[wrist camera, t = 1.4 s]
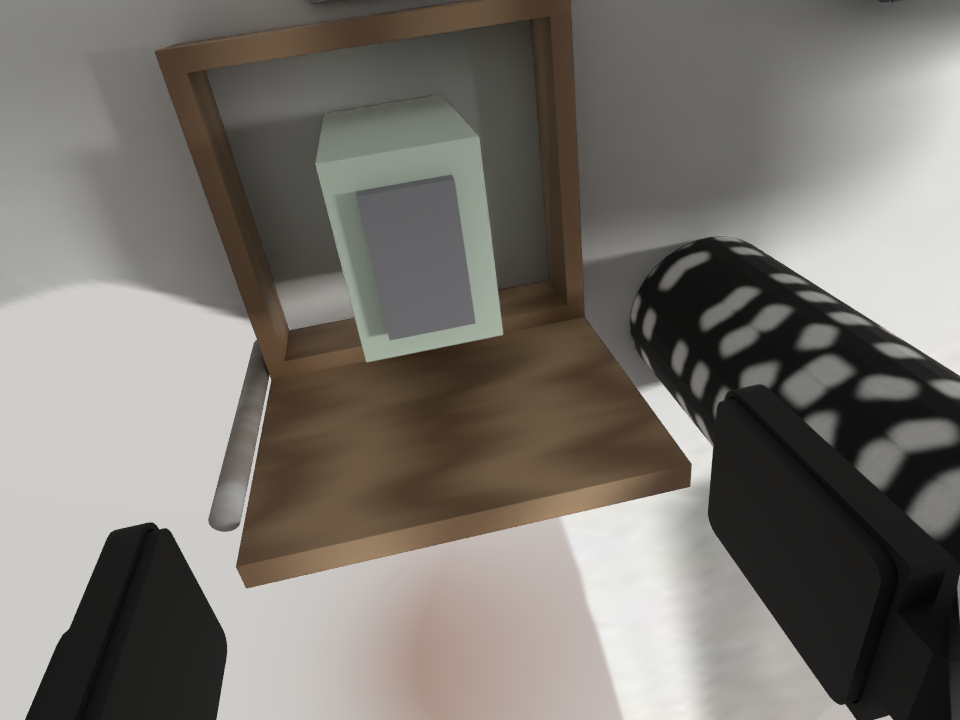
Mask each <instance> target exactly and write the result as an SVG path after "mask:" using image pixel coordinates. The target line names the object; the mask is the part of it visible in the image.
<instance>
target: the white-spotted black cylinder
mask: <svg viewBox="0 0 960 720" xmlns="http://www.w3.org/2000/svg"><path fill="white" fill-rule="evenodd" d="M630 324H631V336H632V339H633V343H634V346H635V348H636V349H637V351H638V353H639V355H640V356H641V357H642V359H643V360H644V361H645V362H646V364H647V365H648V366H649V367H650V368H651V370H652V371H653V372H654V373H655V375H656V376H657V377H658V378H659V380H660V381H661V382H662V383H663V385H664V386H665V387H666V388H667V390H668V391H669V392H670V393H671V395H672V396H673V397H674V398H675V400H676V401H677V402H678V403H679V405H680V406H681V407H682V408H683V410H684V411H685V412H686V413H687V415H688V416H689V417H690V418H691V420H692V421H693V422H694V423H695V425H696V426H697V427H698V428H699V430H700V431H701V432H702V433H703V435H704V436H705V437H706V438H707V440H708V441H709V442H710V443H711V445H712V446H714V434H715V422H716V410H717V405H718V403H719V402H721V401H724V399H725V395H726V394H727V392H729V391H731V390H735V389H739V388H744V387H748V386H753V385H757V384H762V385H764V386H766V387H767V388H769V389H770V390H771V391H772V392H773V393H774V394H775V395H776V396H777V397H778V398H779V399H781V400H782V401H783V402H784V403H785V404H786V405H787V406H788V407H789V408H790V409H792V410H793V411H794V412H795V413H796V414H797V415H798V416H799V417H800V418H801V419H802V420H804V421H805V422H806V423H807V424H808V425H809V426H810V427H811V428H812V429H813V430H814V431H816V432H817V433H818V434H819V435H820V436H821V437H822V438H823V439H824V440H825V441H827V442H828V443H829V444H830V445H831V446H832V447H833V448H834V449H835V450H836V451H837V452H839V453H840V454H841V455H842V456H843V457H844V458H845V459H846V460H847V461H849V462H850V463H851V464H852V465H853V466H854V467H855V468H856V469H857V470H858V471H860V472H861V473H862V474H863V475H864V476H865V477H866V478H867V479H868V480H869V481H870V482H872V483H873V484H874V485H875V486H876V487H877V488H878V489H879V490H880V491H881V492H883V493H884V494H885V495H886V496H887V497H888V498H889V499H890V500H891V501H892V502H893V503H895V504H896V505H897V506H898V507H899V508H900V509H901V510H902V511H903V512H904V513H906V514H907V515H908V516H909V517H910V518H911V519H912V520H913V521H914V522H915V523H916V524H918V525H919V526H920V527H921V528H922V529H923V530H924V531H925V532H926V533H927V534H929V535H930V536H931V537H932V538H933V539H934V540H935V541H936V542H937V543H938V544H939V545H941V546H942V547H943V548H944V549H945V550H946V551H947V552H948V553H949V554H950V555H952V556H953V557H954V558H955V559H956V560H957V561H958V562H959V563H960V376H959V375H957V374H956V373H954V372H953V371H951V370H949V369H948V368H946V367H945V366H943V365H942V364H940V363H938V362H937V361H935V360H934V359H932V358H930V357H929V356H927V355H926V354H924V353H923V352H921V351H919V350H918V349H916V348H915V347H913V346H911V345H910V344H908V343H907V342H905V341H904V340H902V339H900V338H899V337H897V336H896V335H894V334H892V333H891V332H889V331H888V330H886V329H885V328H883V327H881V326H880V325H878V324H877V323H875V322H873V321H872V320H870V319H869V318H867V317H866V316H864V315H862V314H861V313H859V312H858V311H856V310H854V309H853V308H851V307H850V306H848V305H847V304H845V303H843V302H842V301H840V300H839V299H837V298H835V297H834V296H832V295H831V294H829V293H828V292H826V291H824V290H823V289H821V288H820V287H818V286H816V285H815V284H813V283H812V282H810V281H809V280H807V279H805V278H804V277H802V276H801V275H799V274H797V273H796V272H794V271H793V270H791V269H790V268H788V267H786V266H785V265H783V264H782V263H780V262H778V261H777V260H775V259H774V258H772V257H771V256H769V255H767V254H766V253H764V252H763V251H761V250H759V249H758V248H756V247H755V246H753V245H751V244H749V243H747V242H745V241H743V240H740V239H736V238H730V237H711V238H707V239H702V240H698V241H695V242H693V243H691V244H688V245H686V246H683V247H681V248H680V249H678V250H677V251H675V252H674V253H672V254H670V255H669V256H668V257H666V258H665V259H664V260H663V261H662V262H661V263H660V264H659V265H657V266H656V267H655V269H654V270H653V271H652V272H651V273H650V275H649V276H648V277H647V278H646V280H645V281H644V283H643V285H642V286H641V288H640V290H639V292H638V294H637V296H636V299H635V302H634V304H633V307H632V313H631V319H630Z"/></svg>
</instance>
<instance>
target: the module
mask: <svg viewBox="0 0 960 720" xmlns="http://www.w3.org/2000/svg"><path fill="white" fill-rule="evenodd" d="M315 165H316V169H317V173H318V177H319V181H320V185H321V189H322V193H323V196H324V200H325V204H326V208H327V212H328V216H329V220H330V224H331V227H332V231H333V235H334V239H335V243H336V247H337V251H338V255H339V258H340V262H341V266H342V270H343V274H344V278H345V282H346V286H347V289H348V293H349V297H350V301H351V305H352V309H353V313H354V317H355V320H356V324H357V328H358V332H359V336H360V340H361V344H362V348H363V351H364V355H365V359H366V362H371V361H376V360H381V359H386V358H391V357H396V356H401V355H406V354H411V353H416V352H421V351H426V350H431V349H436V348H441V347H446V346H451V345H456V344H461V343H466V342H471V341H476V340H481V339H486V338H490V337H495V336H500V335H503V328H502V320H501V312H500V303H499V295H498V287H497V279H496V271H495V262H494V254H493V246H492V238H491V230H490V221H489V213H488V205H487V197H486V189H485V180H484V172H483V164H482V156H481V148H480V139H479V135H478V134H477V133H476V132H475V131H474V130H473V129H472V128H471V127H470V125H469V124H468V123H467V122H466V121H465V120H464V119H463V118H462V117H461V115H460V114H459V113H458V112H457V111H456V110H455V109H454V108H453V107H452V106H451V104H450V103H449V102H448V101H447V100H446V99H445V98H444V97H443V96H442V94H440V95H434V96H428V97H422V98H416V99H410V100H404V101H398V102H392V103H386V104H380V105H374V106H367V107H361V108H355V109H349V110H343V111H337V112H331V113H325V114H324V116H323V122H322V128H321V134H320V139H319V145H318V151H317V157H316V163H315Z"/></svg>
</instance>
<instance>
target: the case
mask: <svg viewBox="0 0 960 720" xmlns="http://www.w3.org/2000/svg"><path fill="white" fill-rule="evenodd" d="M529 19H531V29H532V43H533V56H534V70H535V83H536V97H537V110H538V124H539V137H540V151H541V164H542V178H543V191H544V205H545V218H546V232H547V245H548V259H549V273H550V280H549V281H544V282H539V283H533V284H528V285H523V286H518V287H513V288H508V289H503V290H498V295H499V303H500V312H501V320H502V328H503V335H500V336H495V337H490V338H486V339H481V340H476V341H471V342H466V343H461V344H456V345H451V346H446V347H441V348H436V349H431V350H426V351H421V352H416V353H411V354H406V355H401V356H396V357H391V358H386V359H381V360H376V361H371V362H366V359H365V355H364V351H363V348H362V344H361V340H360V336H359V332H358V328H357V324H356V320H355V318H353V319H348V320H343V321H338V322H333V323H328V324H322V325H317V326H312V327H307V328H302V329H297V330H292V331H289V329H288V326H287V323H286V319H285V316H284V313H283V310H282V307H281V304H280V301H279V298H278V295H277V292H276V288H275V285H274V282H273V279H272V276H271V273H270V270H269V267H268V264H267V261H266V258H265V254H264V251H263V248H262V245H261V242H260V239H259V236H258V233H257V230H256V227H255V223H254V220H253V217H252V214H251V211H250V208H249V205H248V202H247V199H246V196H245V192H244V189H243V186H242V183H241V180H240V177H239V174H238V171H237V168H236V165H235V161H234V158H233V155H232V152H231V149H230V146H229V143H228V140H227V137H226V134H225V131H224V127H223V124H222V121H221V118H220V115H219V112H218V109H217V106H216V103H215V100H214V96H213V93H212V90H211V87H210V84H209V81H208V78H207V75H206V72H205V70H208V69H215V68H221V67H228V66H234V65H240V64H247V63H253V62H260V61H266V60H273V59H279V58H285V57H292V56H298V55H305V54H311V53H317V52H324V51H330V50H337V49H343V48H349V47H356V46H362V45H369V44H375V43H382V42H388V41H394V40H401V39H407V38H414V37H420V36H426V35H433V34H439V33H446V32H452V31H458V30H465V29H471V28H478V27H484V26H491V25H497V24H503V23H510V22H516V21H523V20H529ZM155 54H156V57H157V60H158V62H159V65H160V68H161V71H162V74H163V76H164V79H165V82H166V85H167V88H168V90H169V93H170V96H171V99H172V102H173V105H174V107H175V110H176V113H177V116H178V119H179V121H180V124H181V127H182V130H183V133H184V135H185V138H186V141H187V144H188V147H189V150H190V152H191V155H192V158H193V161H194V164H195V166H196V169H197V172H198V175H199V178H200V180H201V183H202V186H203V189H204V192H205V194H206V197H207V200H208V203H209V206H210V209H211V211H212V214H213V217H214V220H215V223H216V225H217V228H218V231H219V234H220V237H221V239H222V242H223V245H224V248H225V251H226V253H227V256H228V259H229V262H230V265H231V268H232V270H233V273H234V276H235V279H236V282H237V284H238V287H239V290H240V293H241V296H242V298H243V301H244V304H245V307H246V310H247V312H248V315H249V318H250V321H251V324H252V327H253V329H254V332H255V335H256V338H257V340H256V341H255V343H254V345H253V349H252V353H251V357H250V361H249V364H248V368H247V372H246V376H245V380H244V384H243V388H242V391H241V395H240V399H239V403H238V407H237V411H236V415H235V419H234V423H233V426H232V430H231V434H230V438H229V442H228V446H227V449H226V453H225V457H224V461H223V465H222V469H221V473H220V476H219V481H218V484H217V488H216V492H215V496H214V500H213V504H212V507H211V511H210V516H209V519H208V520H209V524H210V526H211V527H212V528H214V529H215V530H218V531H223V532H227V531H232V530H234V529H236V528H237V527H238V526H239V524H240V521H241V517H242V512H243V506H244V501H245V496H246V491H247V486H248V481H249V476H250V471H251V466H252V460H253V456H254V451H255V446H256V441H257V436H258V430H259V425H260V420H261V415H262V410H263V405H264V400H265V395H266V390H267V385H268V380H269V375H270V377H271V385H270V390H269V396H268V401H267V407H266V412H265V417H264V422H263V427H262V433H261V438H260V443H259V448H258V454H257V459H256V465H255V470H254V475H253V481H252V485H251V491H250V496H249V501H248V507H247V512H246V518H245V522H244V528H243V533H242V539H241V544H240V549H239V555H238V559H237V565H236V568H237V570H238V572H239V574H240V576H241V578H242V581H243V582H244V585H245V587H246V588H250V587H255V586H259V585H264V584H268V583H272V582H277V581H281V580H285V579H289V578H294V577H298V576H303V575H307V574H312V573H316V572H320V571H324V570H329V569H333V568H338V567H342V566H346V565H351V564H355V563H360V562H364V561H368V560H372V559H377V558H381V557H385V556H390V555H394V554H399V553H403V552H407V551H412V550H416V549H420V548H425V547H429V546H434V545H438V544H442V543H447V542H451V541H456V540H460V539H464V538H469V537H473V536H477V535H482V534H486V533H490V532H495V531H499V530H503V529H508V528H512V527H517V526H521V525H525V524H529V523H534V522H539V521H543V520H547V519H551V518H556V517H560V516H565V515H569V514H573V513H578V512H582V511H587V510H591V509H595V508H600V507H604V506H608V505H613V504H617V503H621V502H626V501H630V500H635V499H639V498H643V497H648V496H652V495H656V494H661V493H665V492H669V491H674V490H678V489H683V488H687V487H690V481H691V465H692V464H691V463H690V461H689V460H688V459H687V457H686V456H685V454H684V453H683V452H682V450H681V449H680V448H679V446H678V445H677V443H676V442H675V441H674V439H673V438H672V437H671V435H670V434H669V432H668V431H667V430H666V428H665V427H664V426H663V424H662V423H661V421H660V420H659V419H658V417H657V416H656V415H655V413H654V412H653V410H652V409H651V408H650V406H649V405H648V403H647V402H646V401H645V399H644V398H643V397H642V395H641V394H640V392H639V391H638V390H637V388H636V387H635V386H634V384H633V383H632V381H631V380H630V379H629V377H628V376H627V375H626V373H625V372H624V370H623V369H622V368H621V366H620V365H619V364H618V362H617V361H616V359H615V358H614V357H613V355H612V354H611V353H610V351H609V350H608V348H607V347H606V346H605V344H604V343H603V342H602V340H601V339H600V337H599V336H598V335H597V333H596V332H595V331H594V329H593V328H592V326H591V325H590V324H589V322H588V321H587V320H586V318H585V313H584V290H583V268H582V245H581V222H580V200H579V177H578V155H577V132H576V110H575V87H574V65H573V42H572V20H571V0H466V1H460V2H453V3H447V4H440V5H433V6H427V7H420V8H414V9H407V10H400V11H394V12H387V13H381V14H374V15H367V16H361V17H354V18H348V19H341V20H335V21H328V22H321V23H315V24H308V25H302V26H295V27H288V28H282V29H275V30H269V31H262V32H255V33H249V34H242V35H236V36H229V37H223V38H216V39H209V40H203V41H196V42H190V43H183V44H176V45H172V46H169V47H166V48H163V49H160V50H157V51H155Z"/></svg>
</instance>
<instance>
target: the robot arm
mask: <svg viewBox="0 0 960 720" xmlns="http://www.w3.org/2000/svg"><path fill="white" fill-rule="evenodd" d="M708 517H709V521H710V524H711V527H712V529H713V531H714V533H715V534H716V536H717V537H718V538H719V540H720V541H721V543H722V544H723V546H724V547H725V548H726V550H727V551H728V553H729V554H730V556H731V557H732V558H733V560H734V561H735V563H736V564H737V566H738V567H739V568H740V570H741V571H742V573H743V574H744V575H745V577H746V578H747V580H748V581H749V583H750V584H751V585H752V587H753V588H754V590H755V591H756V593H757V594H758V595H759V597H760V598H761V600H762V601H763V603H764V604H765V605H766V607H767V608H768V610H769V611H770V612H771V614H772V615H773V617H774V618H775V620H776V621H777V622H778V624H779V625H780V627H781V628H782V630H783V631H784V632H785V634H786V635H787V637H788V638H789V640H790V641H791V642H792V644H793V645H794V647H795V648H796V649H797V651H798V652H799V654H800V655H801V657H802V658H803V659H804V661H805V662H806V664H807V665H808V667H809V668H810V669H811V671H812V672H813V674H814V675H815V677H816V678H817V679H818V681H819V682H820V684H821V685H822V686H823V688H824V689H825V691H826V692H827V694H828V695H829V696H830V697H831V699H832V700H834V701H835V702H836V703H837V704H840V705H843V704H846V706H847V707H848V708H849V710H850V711H851V712H852V714H853V715H854V717H855V718H856V720H874V719H878V718H881V717H885V716H888V715H890V716H891V717H892V719H893V720H960V563H959V562H958V561H957V560H956V559H955V558H954V557H953V556H952V555H950V554H949V553H948V552H947V551H946V550H945V549H944V548H943V547H942V546H941V545H939V544H938V543H937V542H936V541H935V540H934V539H933V538H932V537H931V536H930V535H929V534H927V533H926V532H925V531H924V530H923V529H922V528H921V527H920V526H919V525H918V524H916V523H915V522H914V521H913V520H912V519H911V518H910V517H909V516H908V515H907V514H906V513H904V512H903V511H902V510H901V509H900V508H899V507H898V506H897V505H896V504H895V503H893V502H892V501H891V500H890V499H889V498H888V497H887V496H886V495H885V494H884V493H883V492H881V491H880V490H879V489H878V488H877V487H876V486H875V485H874V484H873V483H872V482H870V481H869V480H868V479H867V478H866V477H865V476H864V475H863V474H862V473H861V472H860V471H858V470H857V469H856V468H855V467H854V466H853V465H852V464H851V463H850V462H849V461H847V460H846V459H845V458H844V457H843V456H842V455H841V454H840V453H839V452H837V451H836V450H835V449H834V448H833V447H832V446H831V445H830V444H829V443H828V442H827V441H825V440H824V439H823V438H822V437H821V436H820V435H819V434H818V433H817V432H816V431H814V430H813V429H812V428H811V427H810V426H809V425H808V424H807V423H806V422H805V421H804V420H802V419H801V418H800V417H799V416H798V415H797V414H796V413H795V412H794V411H793V410H792V409H790V408H789V407H788V406H787V405H786V404H785V403H784V402H783V401H782V400H781V399H779V398H778V397H777V396H776V395H775V394H774V393H773V392H772V391H771V390H770V389H769V388H767V387H766V386H764V385H762V384H757V385H753V386H748V387H744V388H739V389H735V390H731V391H729V392H727V394H726V395H725V399H724V401H721V402H719V403H718V405H717V410H716V422H715V434H714V446H713V458H712V470H711V482H710V494H709V506H708ZM226 656H227V642H226V637H225V634H224V631H223V629H222V627H221V625H220V623H219V622H218V620H217V618H216V616H215V614H214V612H213V610H212V608H211V606H210V605H209V603H208V601H207V599H206V597H205V595H204V594H203V591H202V590H201V588H200V586H199V584H198V582H197V580H196V578H195V576H194V575H193V573H192V571H191V569H190V567H189V565H188V563H187V561H186V560H185V558H184V556H183V554H182V552H181V550H180V548H179V546H178V545H177V543H176V541H175V539H174V537H173V535H172V533H171V532H170V531H169V530H168V529H167V528H165V529H159V528H158V527H157V525H155V524H154V523H145V524H141V525H136V526H131V527H127V528H122V529H118V530H114V531H113V532H111V533H110V534H109V536H108V538H107V540H106V542H105V545H104V547H103V549H102V552H101V554H100V557H99V559H98V561H97V564H96V566H95V569H94V571H93V573H92V576H91V578H90V580H89V583H88V585H87V588H86V590H85V592H84V595H83V597H82V600H81V602H80V604H79V607H78V609H77V612H76V614H75V616H74V619H73V621H72V624H71V626H70V629H69V630H68V631H67V632H65V633H64V634H63V635H62V637H61V639H60V641H59V642H58V644H57V646H56V648H55V651H54V653H53V655H52V658H51V660H50V662H49V665H48V667H47V670H46V672H45V674H44V676H43V679H42V681H41V684H40V686H39V688H38V691H37V693H36V695H35V698H34V700H33V702H32V705H31V707H30V709H29V712H28V714H27V716H26V719H25V720H216V718H217V711H218V706H219V699H220V694H221V687H222V681H223V675H224V669H225V663H226Z"/></svg>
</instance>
